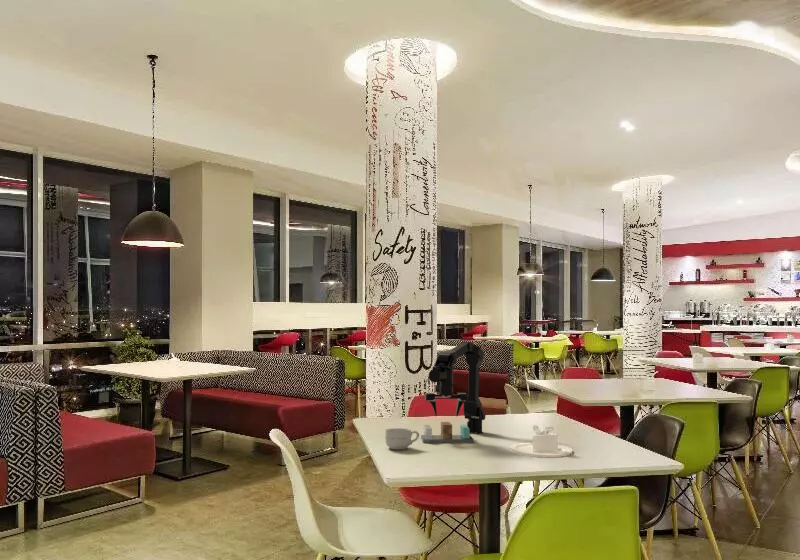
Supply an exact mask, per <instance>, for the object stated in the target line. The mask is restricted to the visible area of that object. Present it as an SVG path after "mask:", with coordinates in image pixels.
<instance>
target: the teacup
mask: <svg viewBox="0 0 800 560" xmlns="http://www.w3.org/2000/svg"><path fill="white" fill-rule="evenodd" d="M413 434H416V437H415V438H414V439H412V437H413ZM419 437H420V433H419V431H417V430H411V429H410V428H401V427H400V428H398V427H396V428H394V427H393V428H386V429H385V444H386V447H389V449H390V450H399V451H400V450H406V449H407V448H408V447H409V446H411V445H412V444H413V443H414V442H416V441H417V440H418V439H419Z"/></svg>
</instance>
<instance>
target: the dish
mask: <svg viewBox="0 0 800 560" xmlns="http://www.w3.org/2000/svg"><path fill="white" fill-rule="evenodd" d="M553 431H555V429H554V427H553V426H547V427H545V428H539V426H538V425H536V424H534V425H532V442H531V441H530V442H521V443H515V444H512V445H511V446H510V447H509V449H510V451H511V452H512V453H515V454H517V455H520V456H521V455H522V456H526V457H532V458H533V457H534V458H546V457H550V458H562V457H561V456H564V457H568V456H570V455H569V454H571V455H573V453H572V452H573V449H572V448H571V447H570V446H566V445H565V444H564V445H562V444H559V434H556V433H551V432H553ZM567 455H568V456H567Z"/></svg>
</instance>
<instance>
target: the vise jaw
mask: <svg viewBox="0 0 800 560" xmlns="http://www.w3.org/2000/svg"><path fill="white" fill-rule="evenodd" d="M459 427H460V430H459V431H460V434H459V435H461V436H462V437H463V438H470V436H471V435H470V434H471V433H470V428H469V427H468V426H467V424H460V426H459Z"/></svg>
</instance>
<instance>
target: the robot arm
mask: <svg viewBox="0 0 800 560" xmlns="http://www.w3.org/2000/svg"><path fill="white" fill-rule="evenodd" d="M462 356H464V357H465V362H466V364H467V366H468V386H467V387H468V390H467V393H466V392H457V394H454V371H455V370H456V368H455V367H454V365H455V364H456V363H457V362H458V358H460V357H462ZM484 356H485V353H484V350H483V349H482V348H481V347H480V346H478V345H476V344H474V343H473V342H472V341H461V342H460V344H458V345H456V346H454V347H453V348H452V349H450V350H445V351H441V352H439V354H438V355H437V357H436V360H435V362H434V365H433V366H432V369H431V370H430V371H429V373H428V379H429V381H430V382H431V383H439V384H435V385H434V392H426V393H424V401H427V402H428V403H430V404H431V407H432V409H433V413H434V416H435V417H437V403H436V400H450V399H451V400H453V399H454V400H456V409H455V416H456V417H458V415H459V412H460V411H461V408H462V405H463V415H464V419H465V420H467V421H466V425H467V426H468V427H469V428H470V434H484V433H483V421H485V420H486V415H487V414H486V412H485V411H484V408H483V405H482V402H481V400H480V397H479V391H480V388H479V387H480V386H479V385H480V366H482V364H483V362H484V361H483V360H484Z"/></svg>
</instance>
